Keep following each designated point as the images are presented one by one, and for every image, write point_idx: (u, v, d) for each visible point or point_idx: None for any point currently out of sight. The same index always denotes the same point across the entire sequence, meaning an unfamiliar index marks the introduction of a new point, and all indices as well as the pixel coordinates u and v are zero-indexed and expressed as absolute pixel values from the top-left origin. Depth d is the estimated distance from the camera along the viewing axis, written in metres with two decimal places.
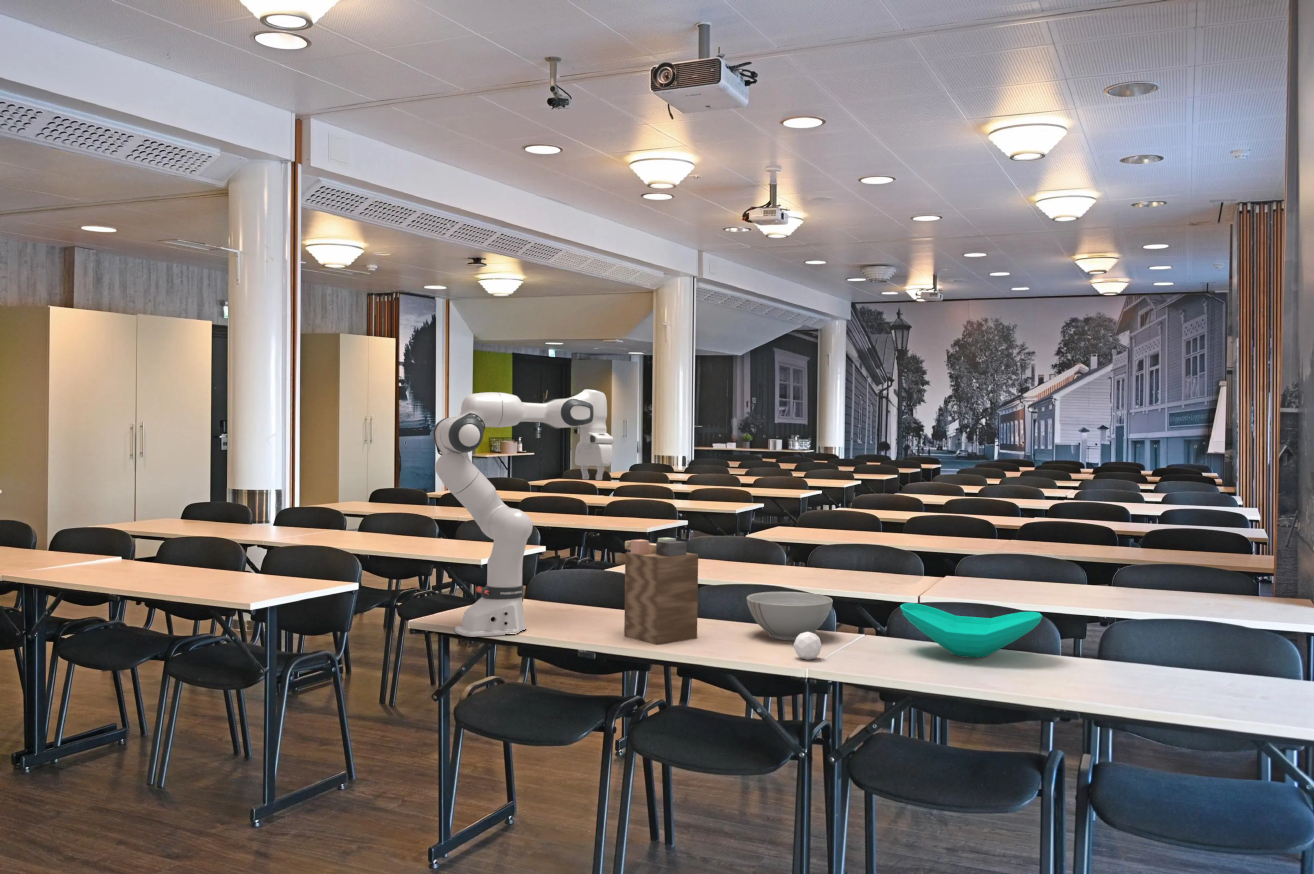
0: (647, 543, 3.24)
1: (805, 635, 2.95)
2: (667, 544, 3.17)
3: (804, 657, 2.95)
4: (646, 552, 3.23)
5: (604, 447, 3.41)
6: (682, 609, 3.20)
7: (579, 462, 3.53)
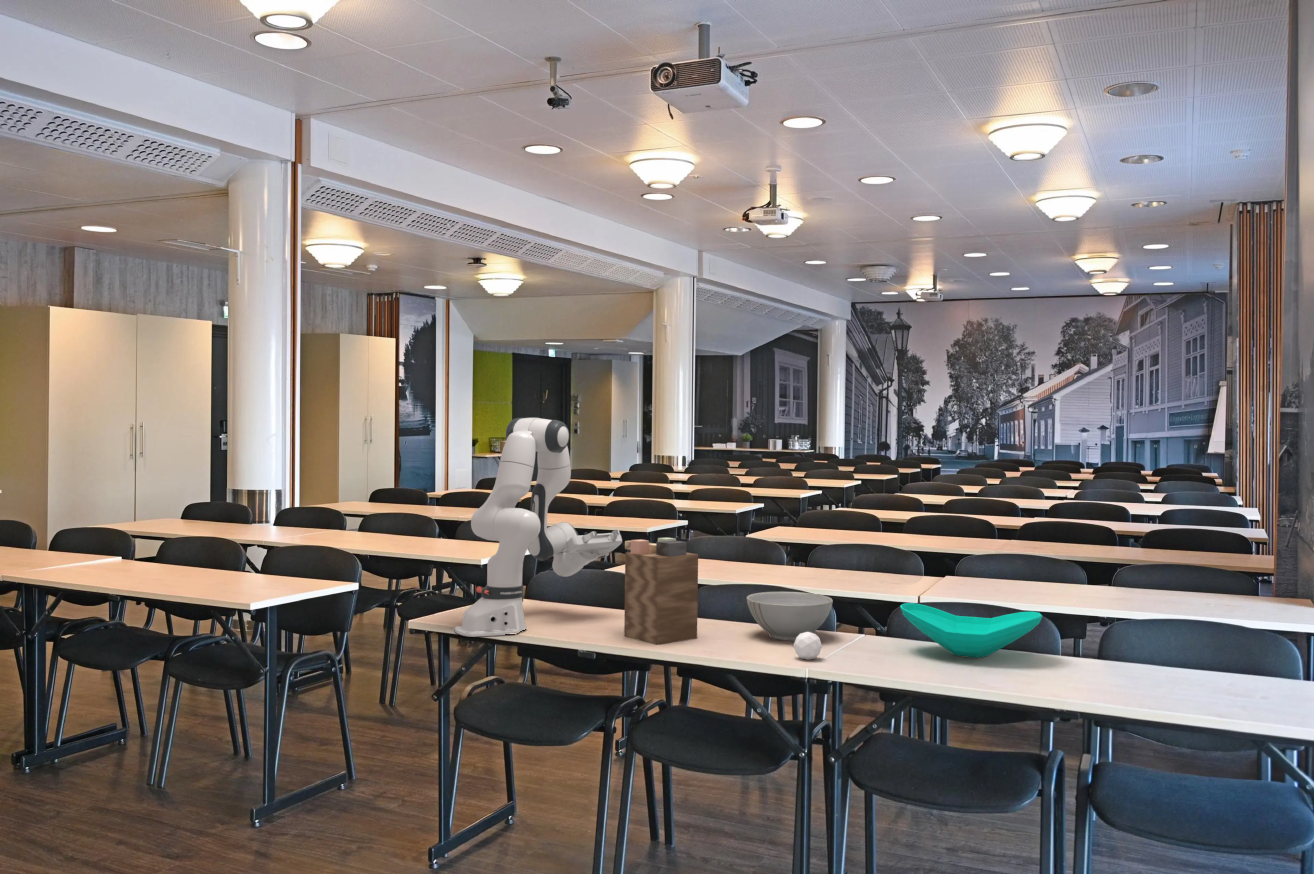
0: (647, 543, 3.24)
1: (805, 635, 2.95)
2: (667, 544, 3.17)
3: (804, 657, 2.95)
4: (646, 552, 3.23)
5: None
6: (682, 609, 3.20)
7: None
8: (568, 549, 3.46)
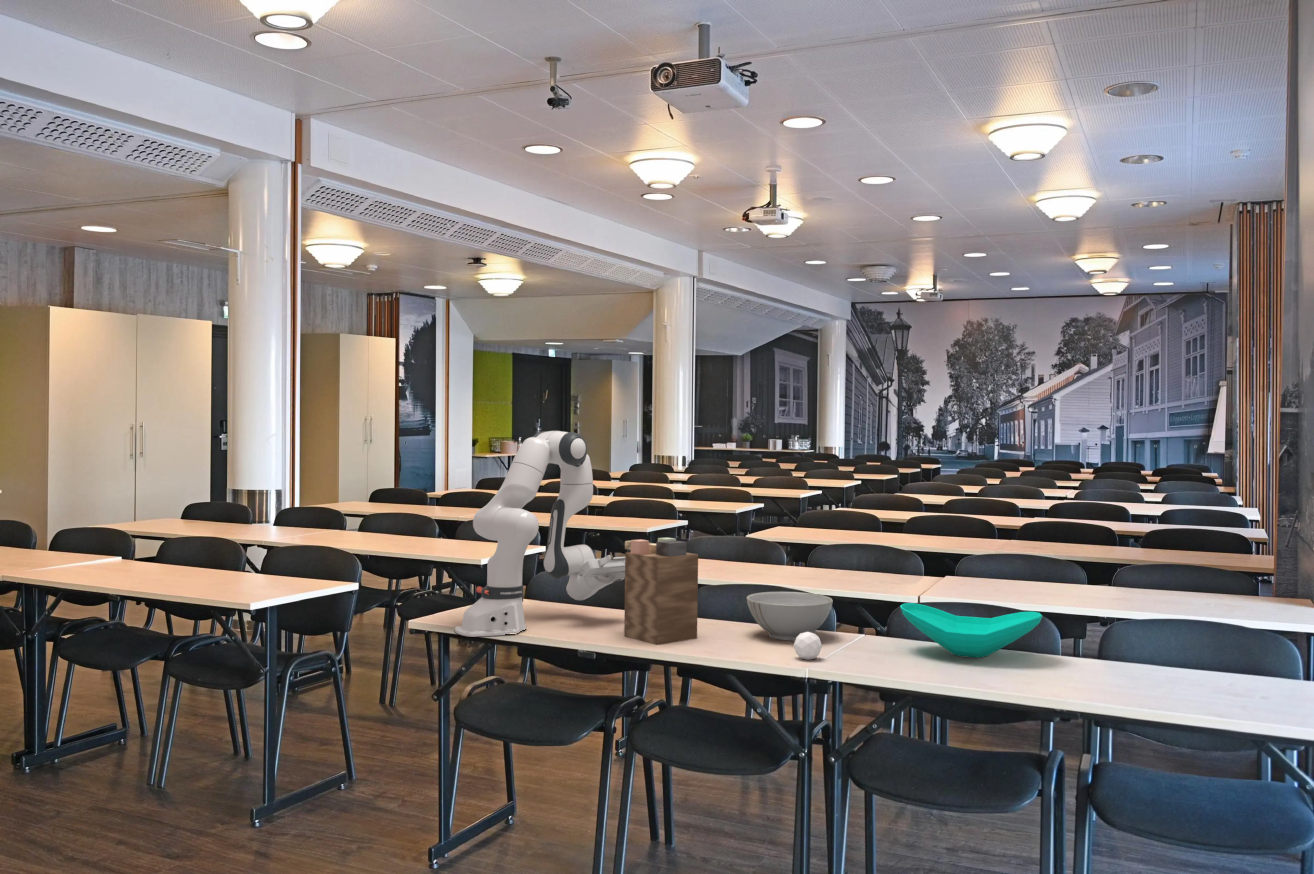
0: (647, 543, 3.24)
1: (805, 635, 2.95)
2: (667, 544, 3.17)
3: (804, 657, 2.95)
4: (646, 552, 3.23)
5: None
6: (682, 609, 3.20)
7: None
8: (583, 573, 3.39)
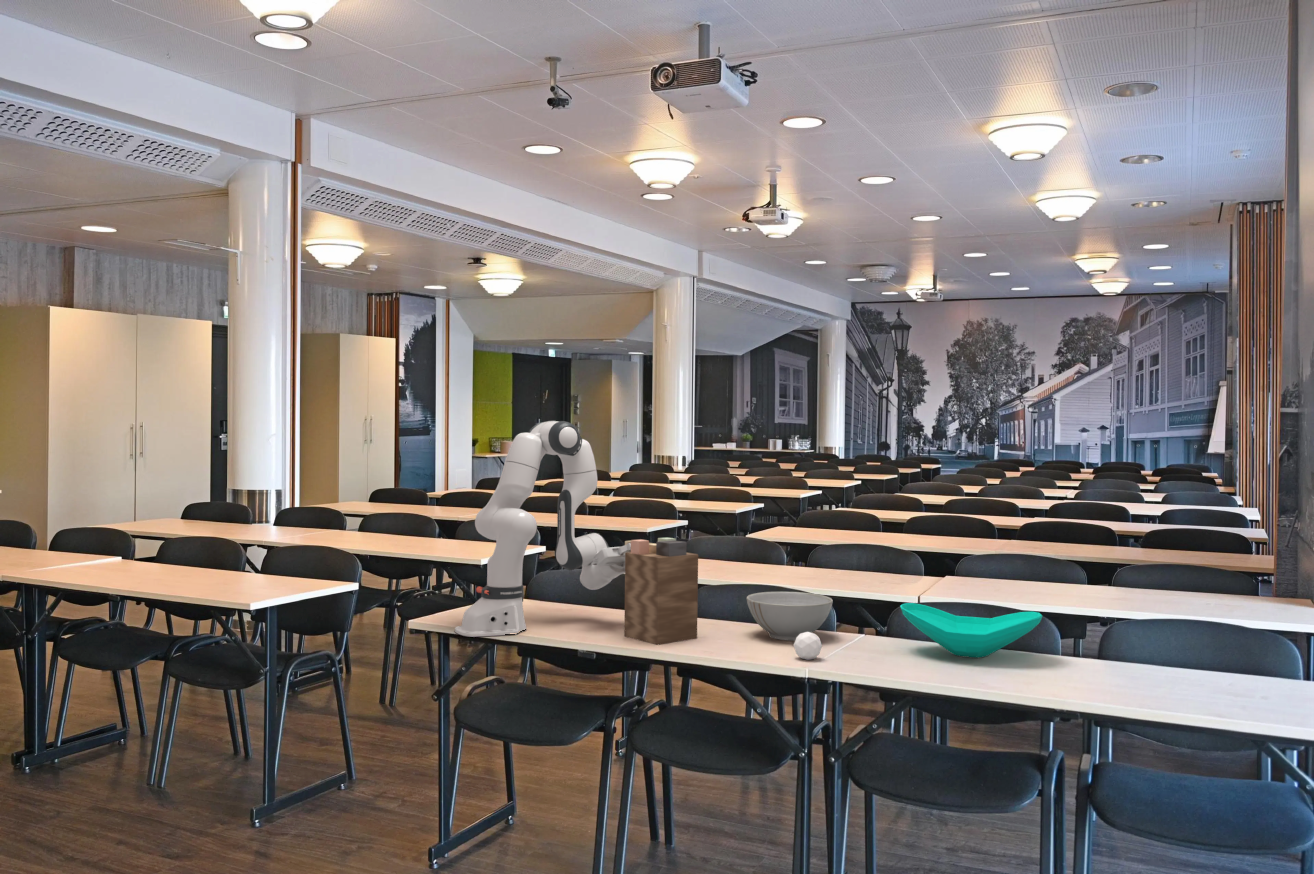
0: (647, 543, 3.24)
1: (805, 635, 2.95)
2: (667, 544, 3.17)
3: (804, 657, 2.95)
4: (646, 552, 3.23)
5: None
6: (682, 609, 3.20)
7: None
8: (598, 561, 3.34)
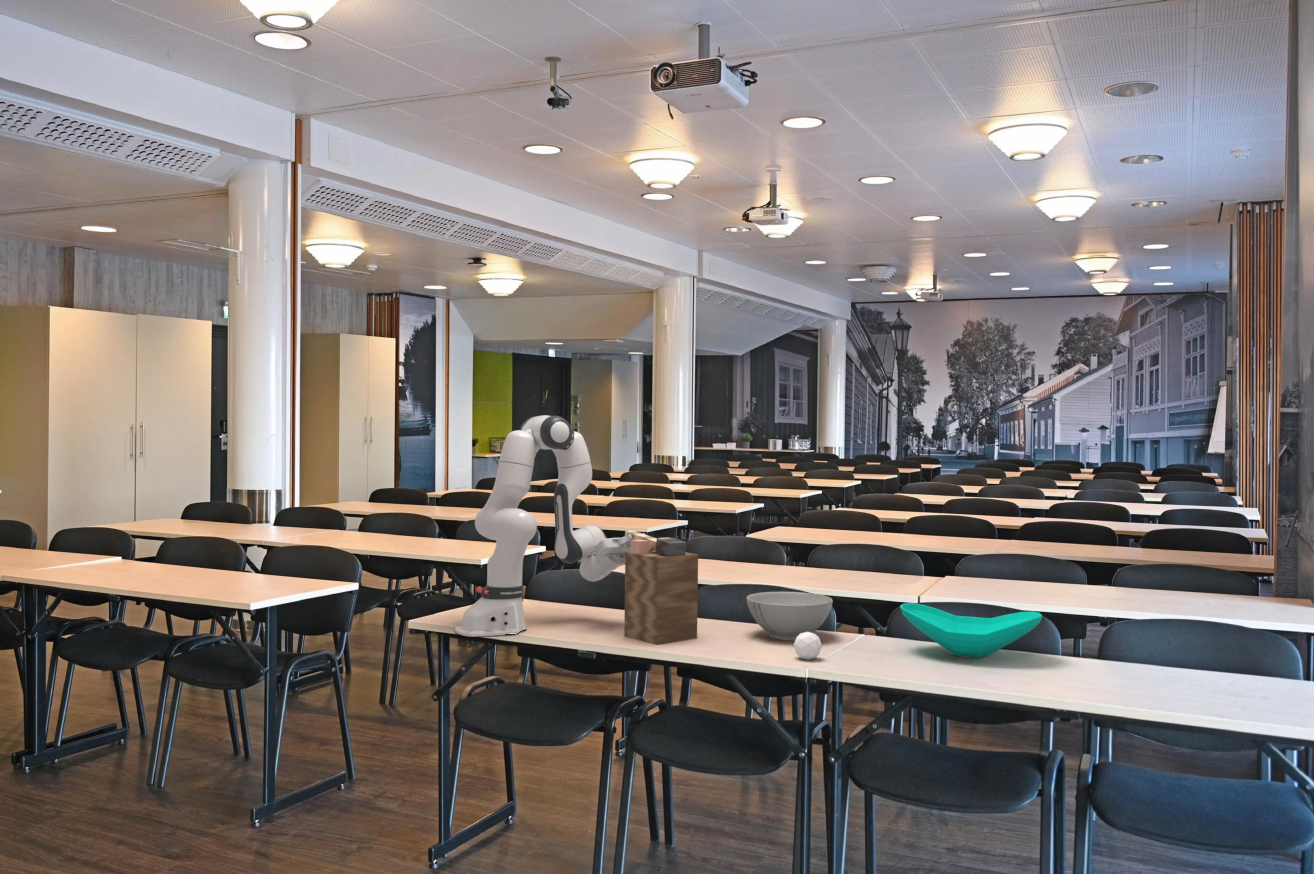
0: (647, 543, 3.24)
1: (805, 635, 2.95)
2: (667, 544, 3.17)
3: (804, 657, 2.95)
4: (646, 552, 3.23)
5: None
6: (682, 609, 3.20)
7: None
8: (598, 552, 3.34)
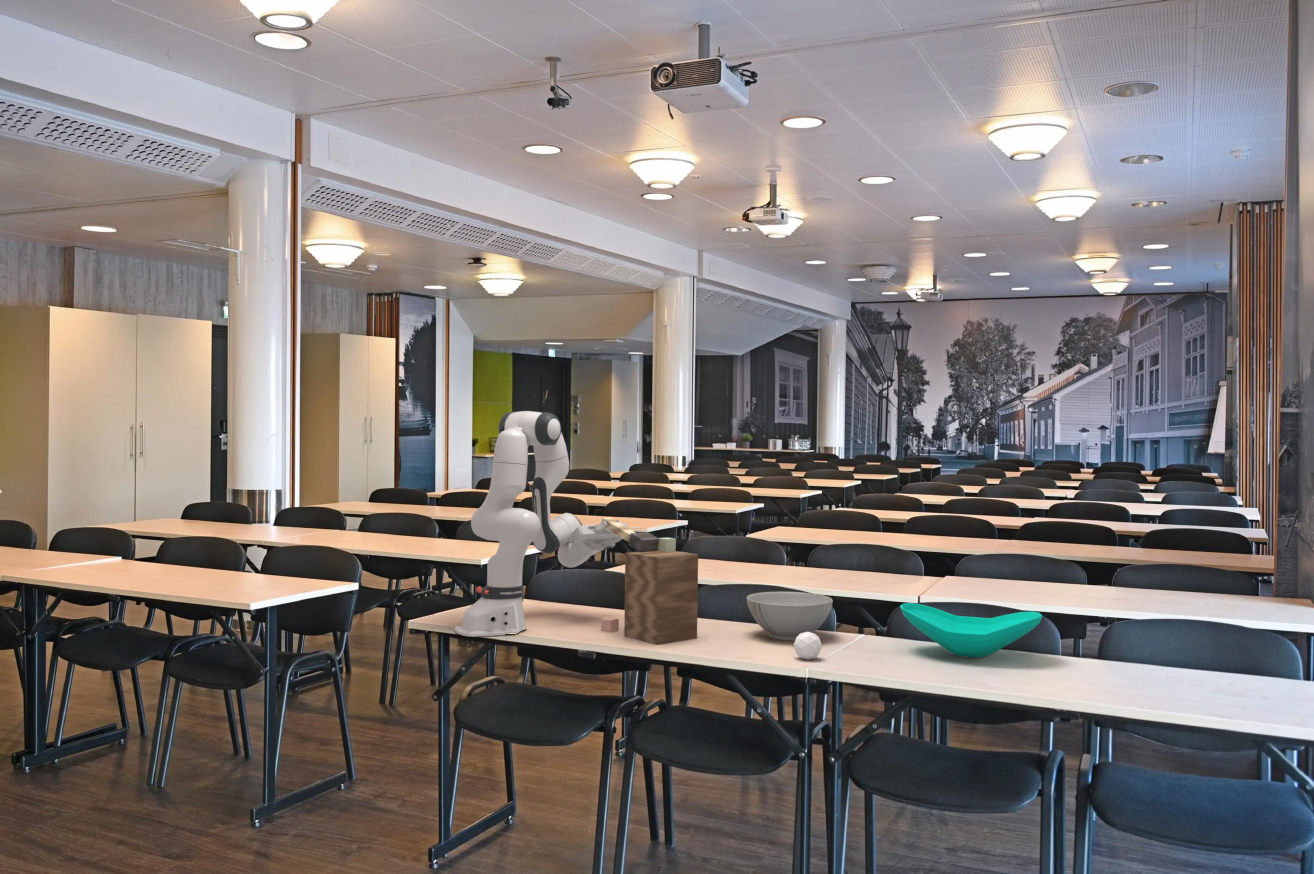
0: None
1: (805, 635, 2.95)
2: (640, 540, 3.27)
3: (804, 657, 2.95)
4: None
5: None
6: (682, 609, 3.20)
7: None
8: (574, 539, 3.43)
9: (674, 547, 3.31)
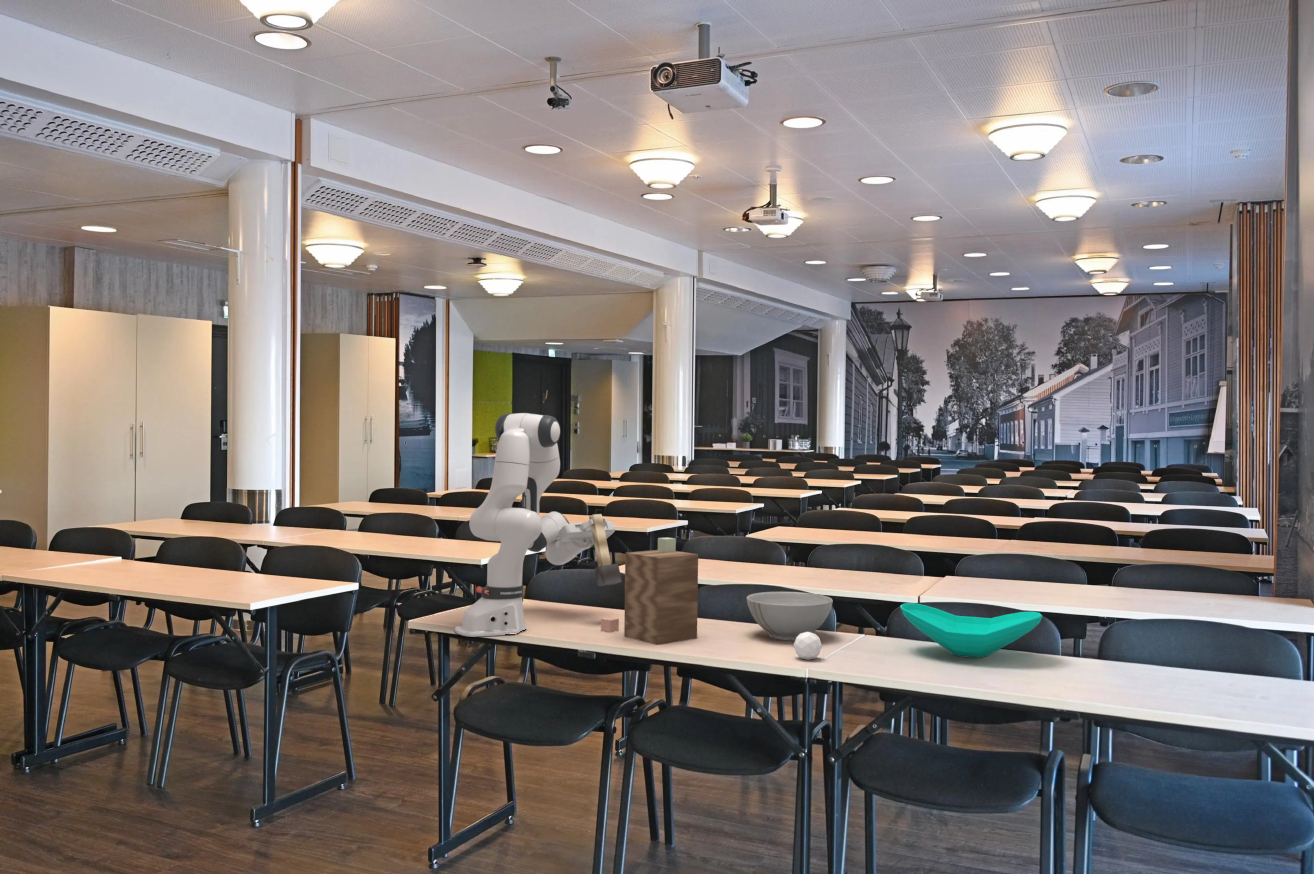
0: None
1: (805, 635, 2.95)
2: (603, 581, 3.41)
3: (804, 657, 2.95)
4: None
5: None
6: (682, 609, 3.20)
7: None
8: (561, 537, 3.49)
9: (674, 547, 3.31)
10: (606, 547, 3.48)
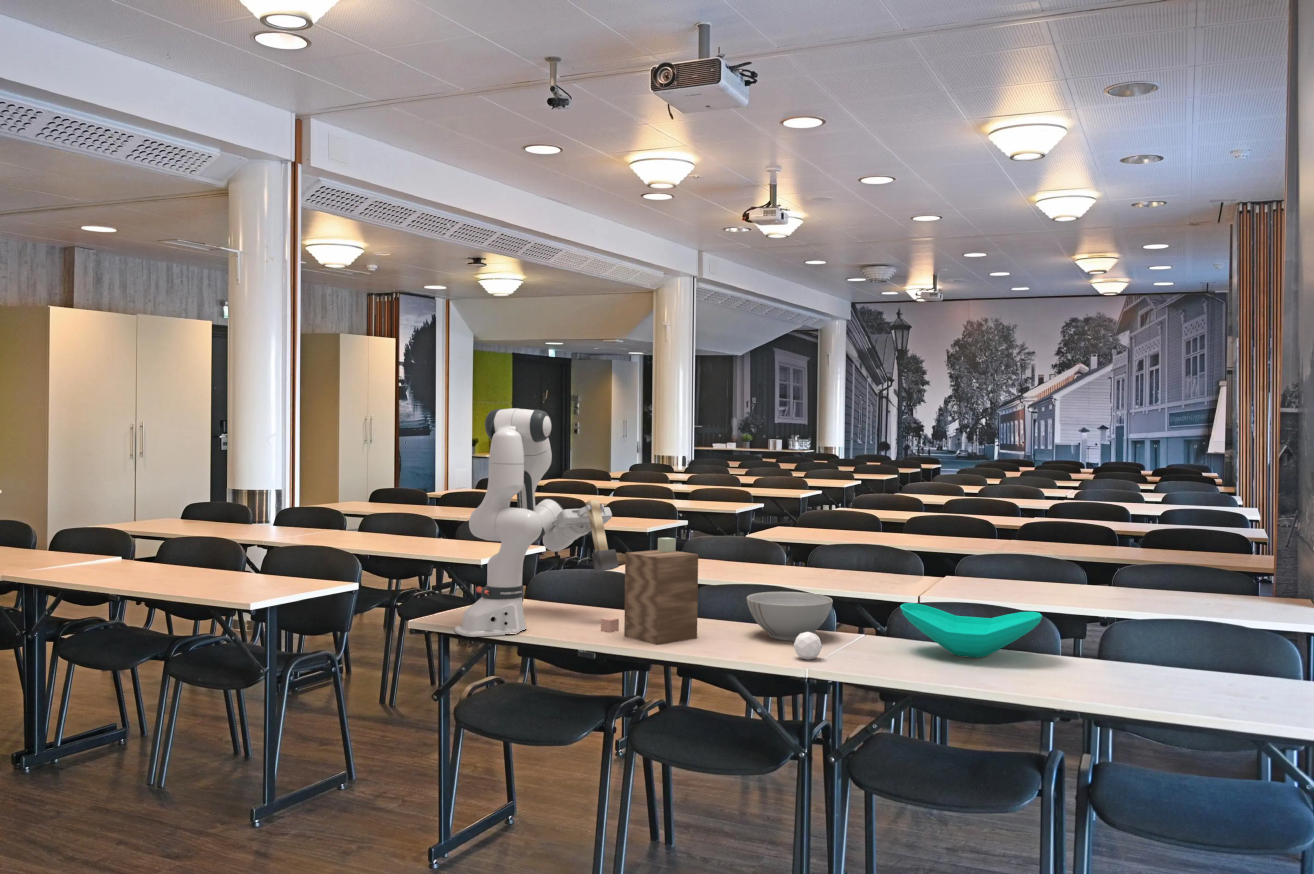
0: None
1: (805, 635, 2.95)
2: (600, 566, 3.43)
3: (804, 657, 2.95)
4: None
5: None
6: (682, 609, 3.20)
7: None
8: (558, 523, 3.50)
9: (674, 547, 3.31)
10: (603, 533, 3.49)
